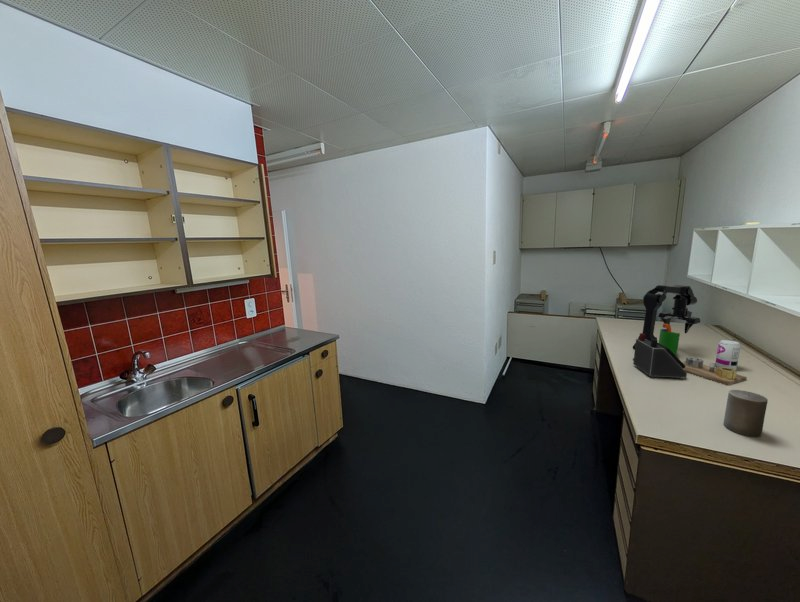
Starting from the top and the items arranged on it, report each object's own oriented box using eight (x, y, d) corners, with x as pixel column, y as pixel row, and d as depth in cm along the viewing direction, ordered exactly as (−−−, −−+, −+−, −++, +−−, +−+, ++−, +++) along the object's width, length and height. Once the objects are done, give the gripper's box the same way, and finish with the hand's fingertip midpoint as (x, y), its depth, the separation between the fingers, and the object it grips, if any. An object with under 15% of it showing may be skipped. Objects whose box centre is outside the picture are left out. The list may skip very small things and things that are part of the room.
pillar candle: (768, 439, 108) (776, 400, 106) (732, 434, 112) (739, 395, 109) (750, 424, 117) (757, 388, 115) (716, 420, 121) (722, 384, 118)
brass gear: (732, 380, 149) (733, 373, 149) (714, 376, 155) (715, 368, 154) (737, 377, 153) (738, 370, 152) (718, 373, 158) (720, 365, 158)
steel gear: (697, 369, 163) (698, 362, 163) (682, 365, 169) (683, 358, 169) (705, 367, 165) (706, 360, 165) (690, 363, 172) (691, 356, 171)
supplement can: (718, 369, 166) (722, 343, 163) (712, 364, 173) (716, 338, 170) (739, 372, 162) (744, 345, 159) (732, 366, 169) (736, 340, 166)
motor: (681, 358, 182) (686, 326, 179) (666, 359, 183) (670, 326, 179) (667, 352, 192) (671, 321, 189) (652, 353, 192) (656, 322, 189)
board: (727, 385, 148) (729, 373, 147) (669, 367, 170) (671, 357, 169) (746, 379, 153) (748, 368, 152) (688, 363, 176) (689, 353, 175)
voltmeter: (686, 380, 155) (692, 342, 151) (649, 378, 158) (654, 341, 155) (666, 367, 170) (671, 333, 167) (632, 366, 174) (636, 332, 170)
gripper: (708, 307, 178) (704, 333, 181) (670, 302, 195) (667, 326, 198) (695, 309, 174) (692, 336, 177) (659, 304, 192) (656, 328, 194)
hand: (676, 331), depth 187 cm, fingers open, 9 cm apart
